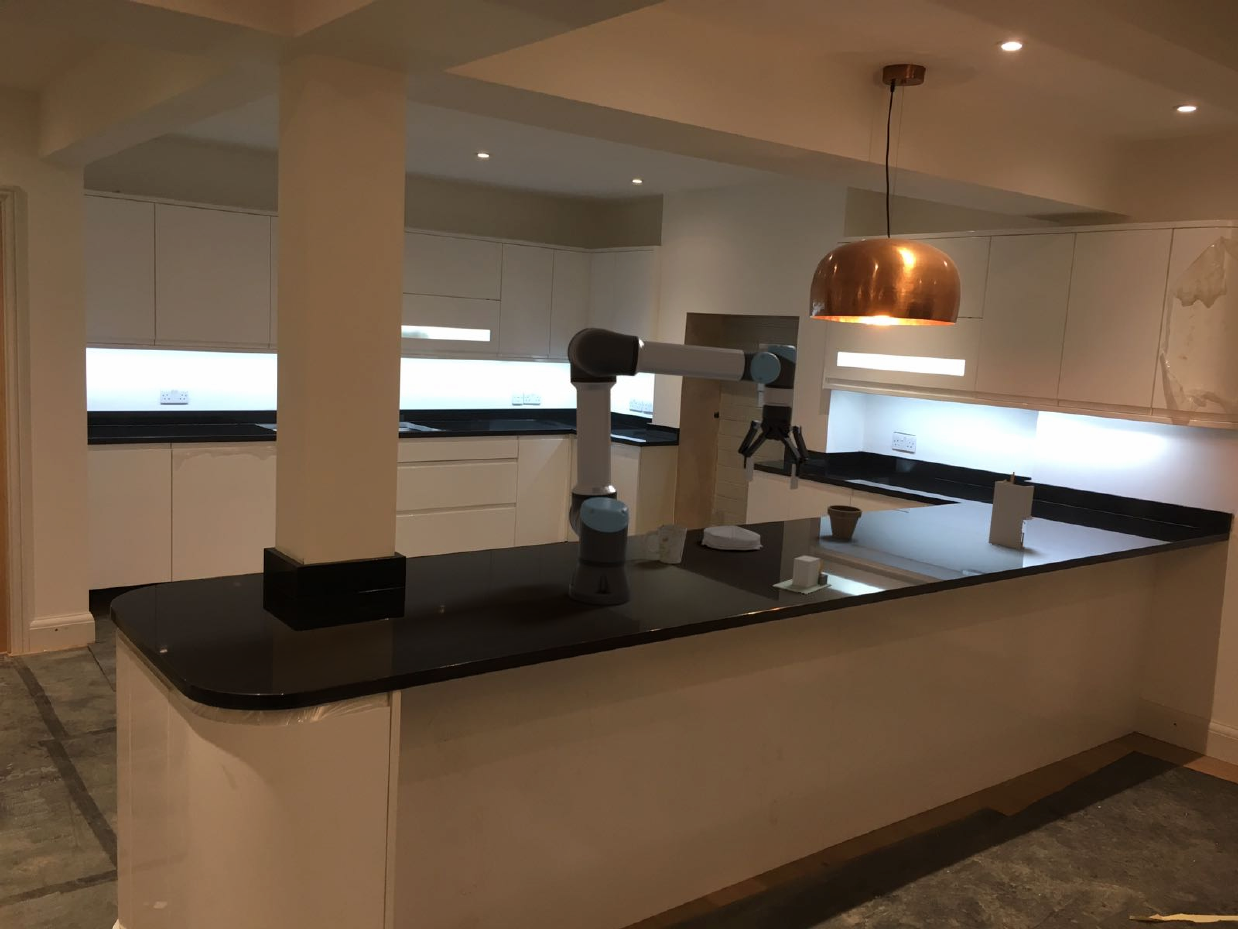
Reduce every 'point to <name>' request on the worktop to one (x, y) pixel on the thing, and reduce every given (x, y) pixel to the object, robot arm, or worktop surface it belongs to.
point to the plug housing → (806, 571)
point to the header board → (796, 588)
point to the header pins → (820, 571)
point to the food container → (731, 538)
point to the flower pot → (843, 520)
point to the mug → (668, 542)
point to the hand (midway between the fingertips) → (770, 485)
